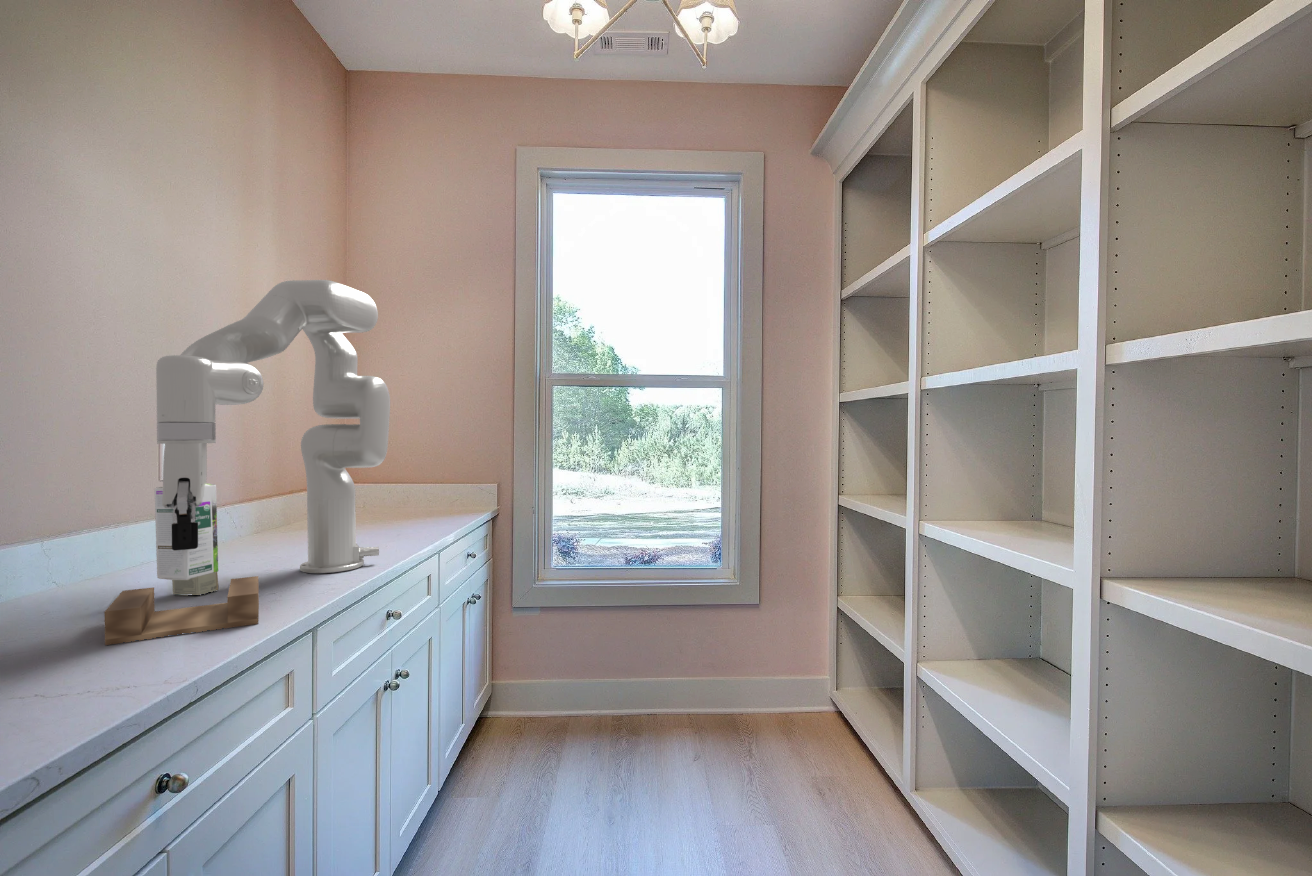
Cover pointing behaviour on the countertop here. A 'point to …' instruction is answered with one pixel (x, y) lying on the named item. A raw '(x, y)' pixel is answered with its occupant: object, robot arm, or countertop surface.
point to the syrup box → (189, 560)
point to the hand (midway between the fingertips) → (187, 544)
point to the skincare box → (196, 585)
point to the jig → (179, 614)
